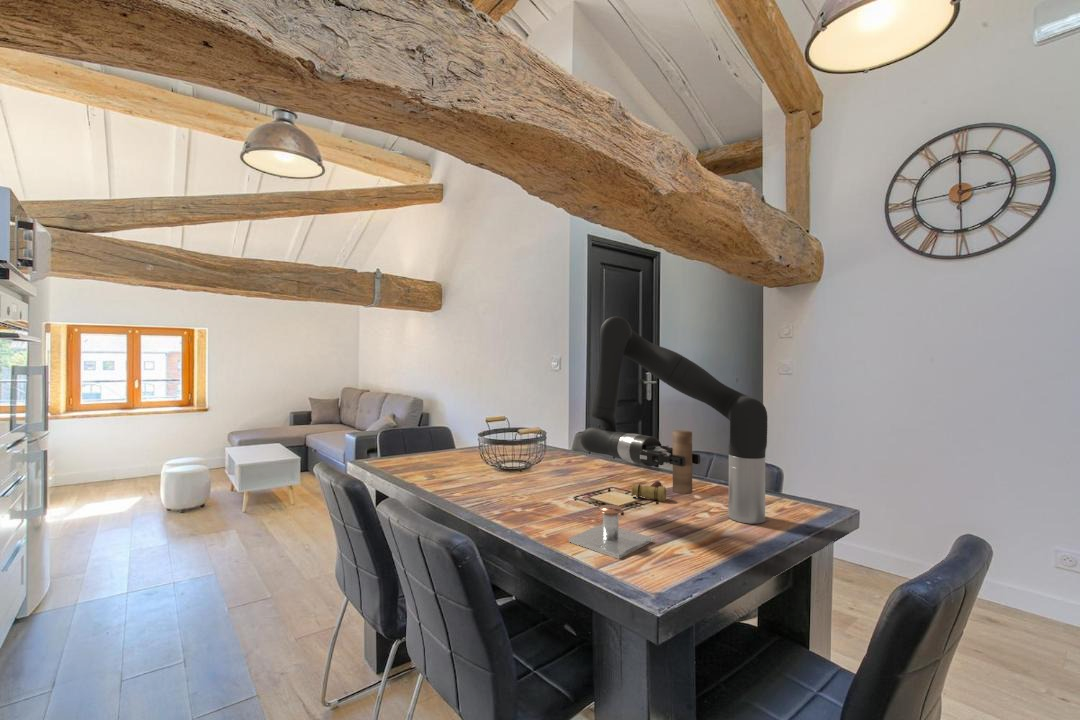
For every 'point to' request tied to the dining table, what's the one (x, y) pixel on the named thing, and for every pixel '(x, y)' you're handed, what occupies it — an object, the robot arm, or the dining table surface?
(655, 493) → the olive strapped bedroll
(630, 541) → the steel post
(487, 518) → the dining table surface
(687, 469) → the walnut dowel
